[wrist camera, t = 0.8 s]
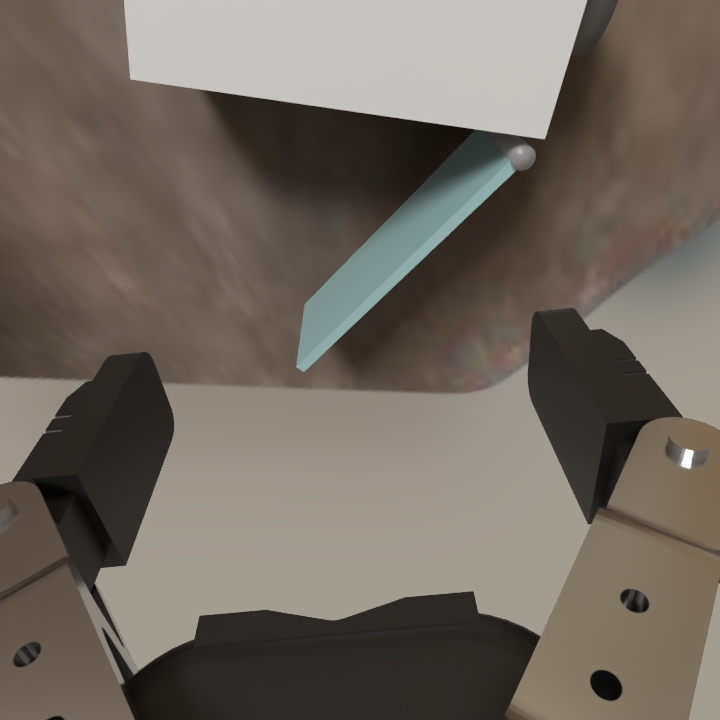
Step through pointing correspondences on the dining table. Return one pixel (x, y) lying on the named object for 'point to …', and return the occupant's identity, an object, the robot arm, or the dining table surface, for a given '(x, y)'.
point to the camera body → (374, 54)
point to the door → (410, 236)
